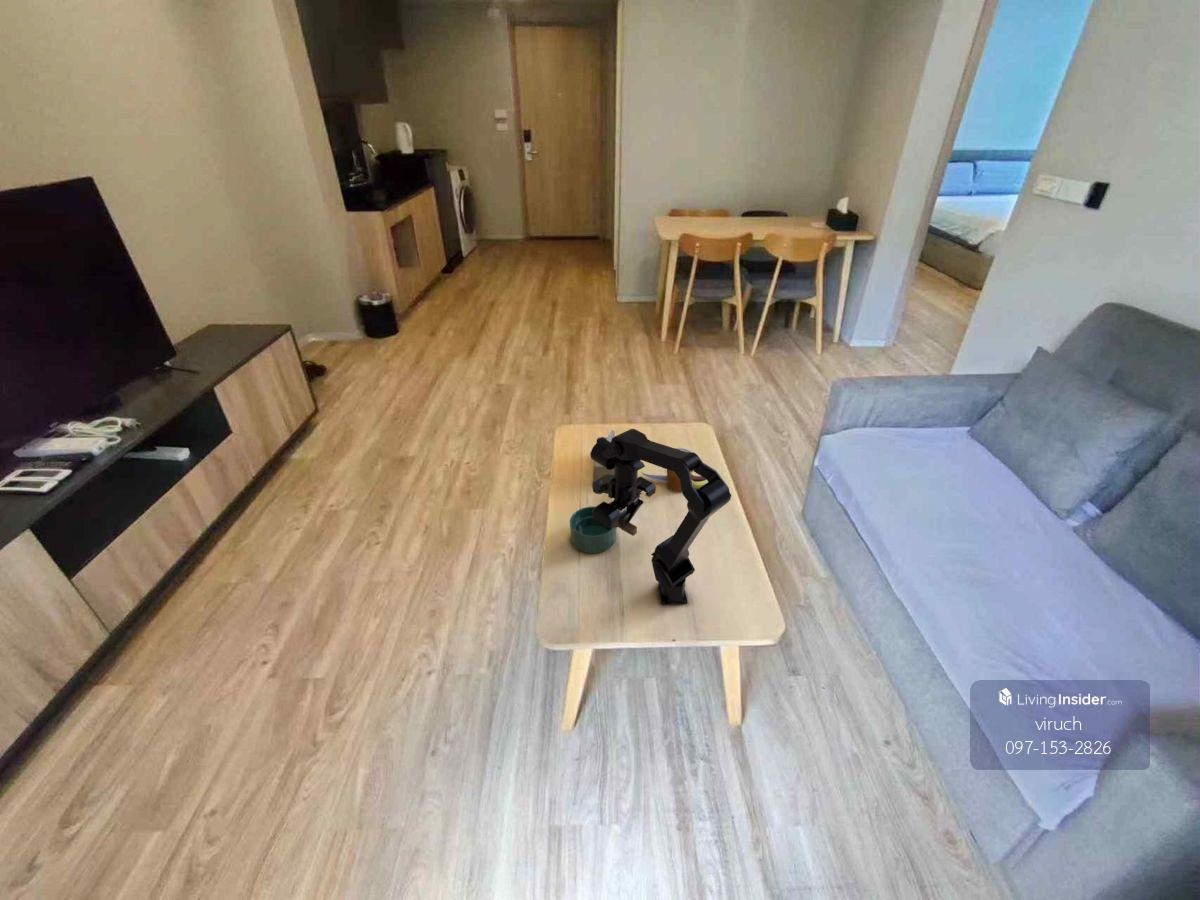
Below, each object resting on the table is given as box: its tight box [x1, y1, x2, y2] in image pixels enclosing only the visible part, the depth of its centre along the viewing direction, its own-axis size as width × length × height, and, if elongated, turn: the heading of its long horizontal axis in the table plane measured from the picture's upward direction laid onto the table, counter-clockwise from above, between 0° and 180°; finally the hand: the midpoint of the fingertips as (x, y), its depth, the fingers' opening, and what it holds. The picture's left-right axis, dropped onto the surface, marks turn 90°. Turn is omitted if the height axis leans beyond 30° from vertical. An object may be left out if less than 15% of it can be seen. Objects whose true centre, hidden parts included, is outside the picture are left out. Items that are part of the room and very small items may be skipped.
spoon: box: [610, 521, 638, 537], centre depth 141 cm, size 9×4×2 cm, turn 48°
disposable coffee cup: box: [666, 447, 692, 493], centre depth 170 cm, size 10×10×12 cm
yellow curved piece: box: [640, 471, 708, 489], centre depth 175 cm, size 8×3×25 cm
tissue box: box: [592, 429, 616, 482], centre depth 176 cm, size 19×10×16 cm, turn 176°
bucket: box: [569, 505, 618, 554], centre depth 151 cm, size 13×13×6 cm
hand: (624, 525), depth 140 cm, fingers closed on spoon, 1 cm apart
